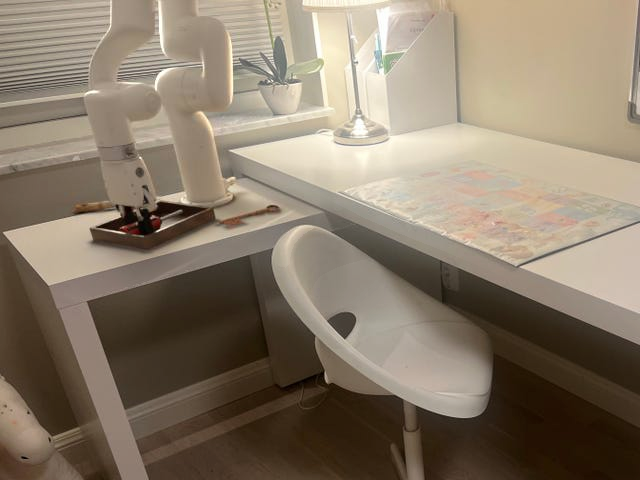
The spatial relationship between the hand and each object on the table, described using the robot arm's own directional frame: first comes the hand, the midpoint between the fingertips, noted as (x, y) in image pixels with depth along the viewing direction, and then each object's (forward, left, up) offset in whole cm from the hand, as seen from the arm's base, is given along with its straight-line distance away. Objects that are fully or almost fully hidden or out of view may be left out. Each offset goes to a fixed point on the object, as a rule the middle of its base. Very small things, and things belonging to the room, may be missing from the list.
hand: (141, 234), depth 162 cm
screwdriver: (-4, 0, 0) cm, 4 cm away
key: (-19, +15, -1) cm, 24 cm away
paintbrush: (-13, -22, -1) cm, 25 cm away
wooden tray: (-4, 0, -1) cm, 4 cm away
